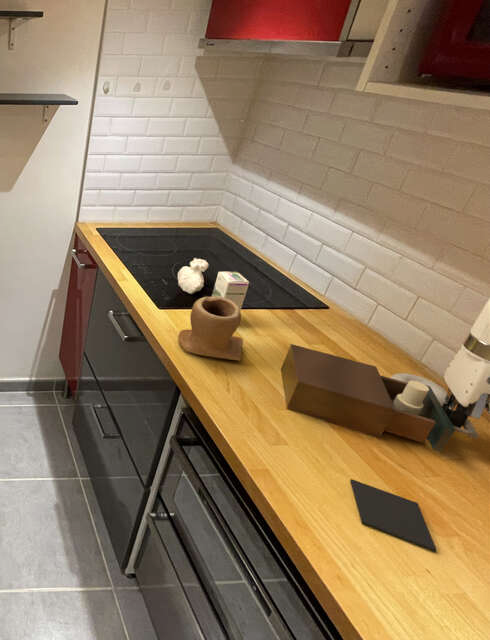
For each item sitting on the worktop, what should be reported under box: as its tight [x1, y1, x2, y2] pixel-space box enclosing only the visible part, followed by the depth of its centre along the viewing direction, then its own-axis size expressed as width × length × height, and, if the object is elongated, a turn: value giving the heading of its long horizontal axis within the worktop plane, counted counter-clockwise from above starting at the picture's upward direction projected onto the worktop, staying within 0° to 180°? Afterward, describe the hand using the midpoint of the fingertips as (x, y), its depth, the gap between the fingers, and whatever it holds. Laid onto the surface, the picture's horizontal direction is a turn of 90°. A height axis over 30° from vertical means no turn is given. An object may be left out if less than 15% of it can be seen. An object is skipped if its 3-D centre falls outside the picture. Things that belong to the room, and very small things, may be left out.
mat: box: [350, 478, 437, 553], centre depth 75 cm, size 9×9×1 cm
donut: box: [390, 372, 448, 406], centre depth 99 cm, size 10×3×10 cm
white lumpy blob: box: [177, 257, 210, 295], centre depth 141 cm, size 12×8×11 cm
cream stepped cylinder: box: [393, 381, 429, 415], centre depth 91 cm, size 4×4×8 cm
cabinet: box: [280, 343, 395, 439], centre depth 97 cm, size 16×15×8 cm
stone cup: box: [178, 296, 244, 361], centre depth 110 cm, size 15×12×15 cm
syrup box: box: [211, 271, 250, 312], centre depth 123 cm, size 6×6×14 cm
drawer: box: [380, 374, 480, 453], centre depth 92 cm, size 19×13×6 cm
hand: (447, 423), depth 89 cm, fingers closed
